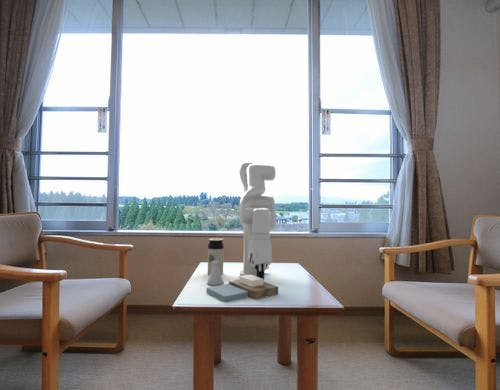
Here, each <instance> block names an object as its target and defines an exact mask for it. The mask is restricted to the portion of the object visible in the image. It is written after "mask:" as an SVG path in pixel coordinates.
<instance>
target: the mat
mask: <svg viewBox="0 0 500 390" xmlns="http://www.w3.org/2000/svg"><path fill="white" fill-rule="evenodd" d="M206 294H208V295H211V296H212V297H215V298H216V299H218V300H221V301H222V302H224V303H227V302H230V301H235V300H239V299H245V298H249V297H248V292H247V291H245V290H242V289H240V288H237V287H235V286H233V285H230V284H229V283H226V284H221V285H216V286H214V285H213V286H210V287H209V286H208V287H206Z"/></svg>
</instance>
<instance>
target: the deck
mask: <svg viewBox="0 0 500 390" xmlns="http://www.w3.org/2000/svg"><path fill="white" fill-rule="evenodd" d="M228 284H230V285H233V286H235V287H237V288H240V289H242V290H245V291H247V292H248V297H247V298H251V299H253V300H258V299H259V300H260V299H263V298H267V297H272V296H276V295H279V286H277V285H274V284H271V283H268V282H266V281H264V285H260V286H254V287H251V286H248V285H246V284H243V283H240V282H239V279H237V280H235V279H234V280H230V281H229V282H228Z"/></svg>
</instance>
